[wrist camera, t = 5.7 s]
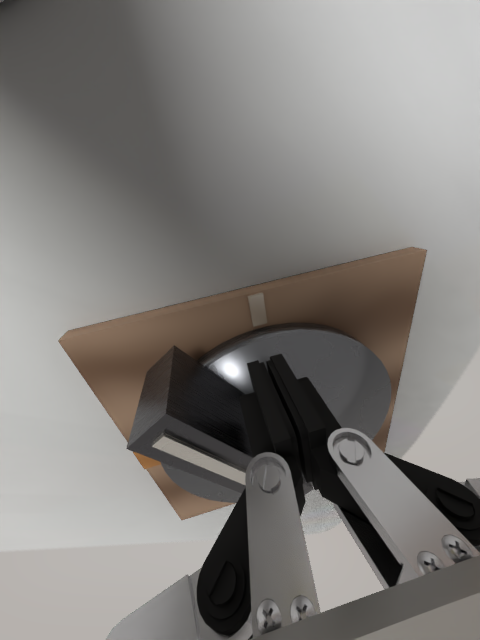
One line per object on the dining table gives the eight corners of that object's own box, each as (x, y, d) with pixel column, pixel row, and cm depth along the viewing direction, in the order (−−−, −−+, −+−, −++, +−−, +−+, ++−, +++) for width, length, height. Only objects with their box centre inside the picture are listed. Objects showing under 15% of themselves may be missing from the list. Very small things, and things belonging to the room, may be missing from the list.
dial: (74, 432, 14) (12, 553, 9) (277, 233, 11) (346, 256, 6) (262, 504, 22) (282, 587, 17) (409, 402, 19) (482, 470, 14)
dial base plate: (67, 330, 12) (55, 344, 11) (411, 247, 14) (431, 250, 12) (182, 507, 22) (181, 524, 20) (376, 446, 23) (386, 459, 22)
